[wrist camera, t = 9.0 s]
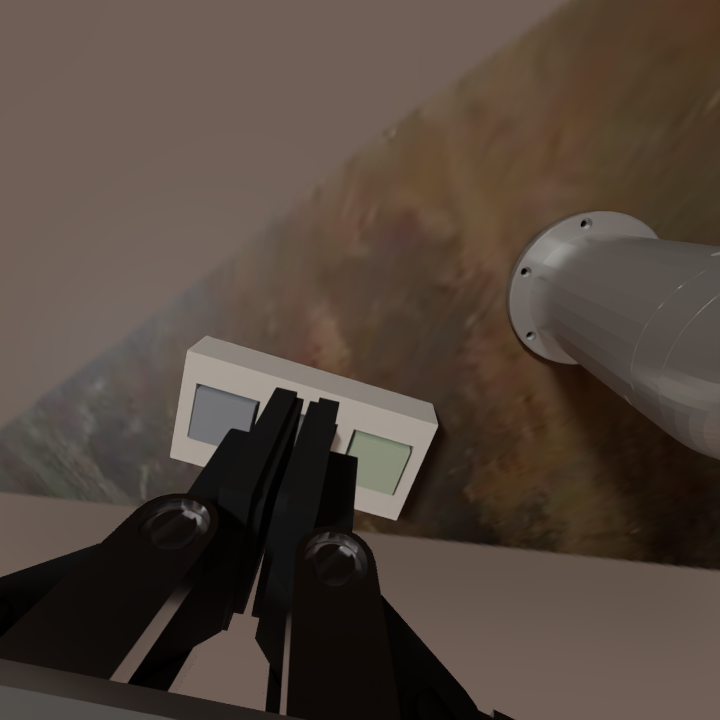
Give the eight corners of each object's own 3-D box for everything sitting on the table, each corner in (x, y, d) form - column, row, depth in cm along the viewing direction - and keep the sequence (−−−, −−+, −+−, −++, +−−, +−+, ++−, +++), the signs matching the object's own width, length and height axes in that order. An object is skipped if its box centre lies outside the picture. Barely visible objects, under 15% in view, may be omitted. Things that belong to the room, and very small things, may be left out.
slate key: (264, 391, 37) (254, 406, 34) (253, 435, 39) (243, 453, 36) (210, 375, 37) (197, 389, 34) (202, 421, 39) (188, 438, 36)
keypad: (432, 404, 38) (438, 425, 35) (394, 492, 42) (396, 520, 39) (206, 335, 37) (187, 350, 33) (188, 434, 41) (169, 457, 37)
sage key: (408, 433, 38) (410, 451, 35) (390, 475, 40) (391, 495, 37) (357, 418, 38) (355, 435, 35) (342, 461, 40) (339, 480, 37)
